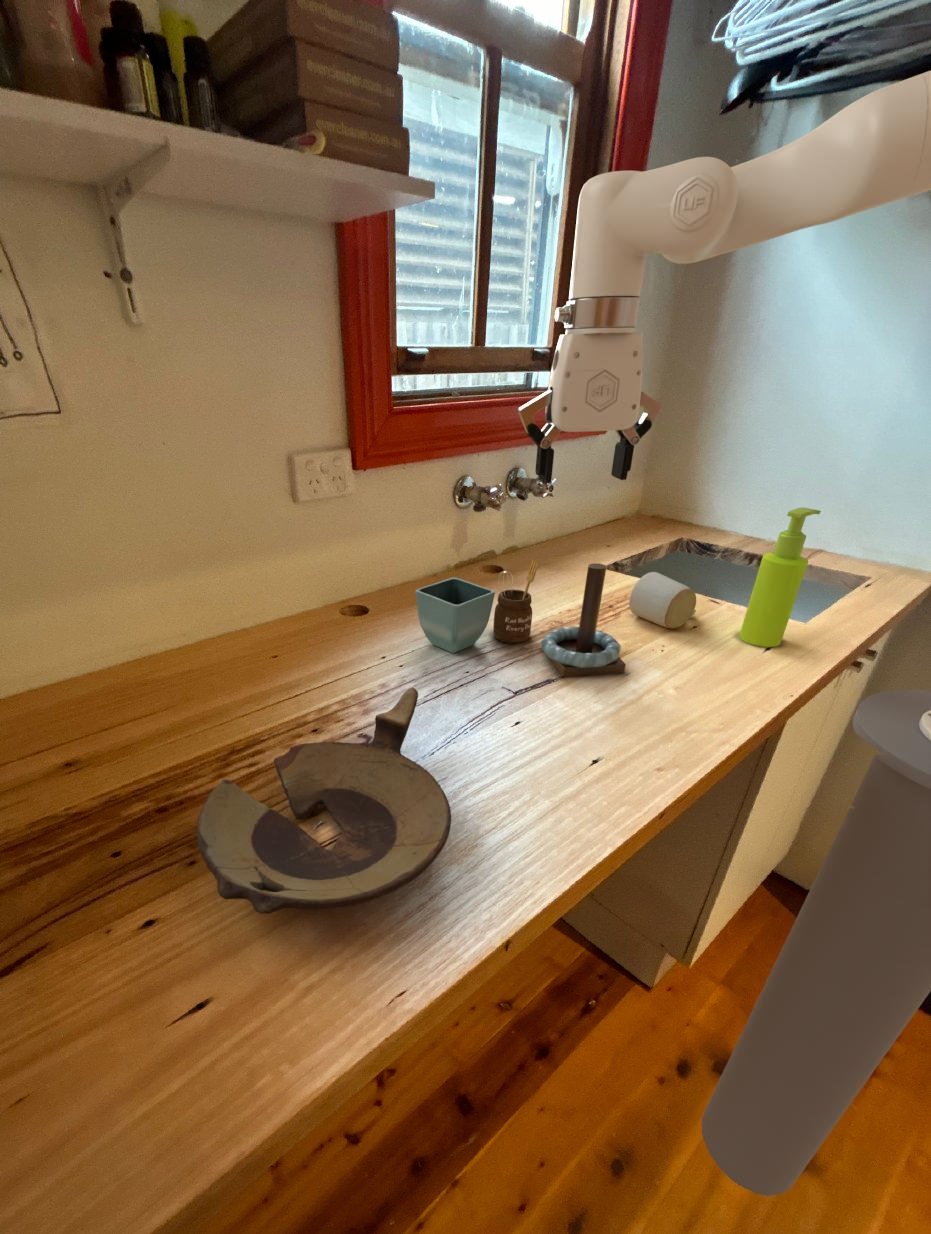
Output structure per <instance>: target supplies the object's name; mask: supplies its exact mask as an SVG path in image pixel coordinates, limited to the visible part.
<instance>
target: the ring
mask: <svg viewBox="0 0 931 1234" xmlns="http://www.w3.org/2000/svg"><path fill="white" fill-rule="evenodd" d="M578 630H579V626H566V627H564V626H563V627H559V628H556V629H554V630H551V631H548V632H547V633H546V634H545V635H544V637H543V639H542V640H541V643H540V647H541V649H542V650H543V652H544V653H545V654H546V656H547V657H548V658H549V659H550V658H551V659H553V660H556V661H558V662H560V663H562V664H564V665H570V666H576V667H581V668H589V667H602V666H605V665H607V664H609V663H612V662H614V661H616V660H617V659H618V657H620V654H621V644H620V643H619V641H617V640H616V639H615V638H614V636H612V634H609V633H606V632H604V631H601V630H599V629H596V633H595V639H594V643H595V644H597V645H599V646H602V647H603V648H604V649H605V650H604V651H601V652H599V653H579V652H573V651H568V650H566V649H564V648H561V647H559V646H558V645H557V644H556V643H559V642H561V641H566V640H577V637H578ZM551 659H550V660H551Z"/></svg>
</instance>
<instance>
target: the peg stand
mask: <svg viewBox="0 0 931 1234" xmlns="http://www.w3.org/2000/svg"><path fill="white" fill-rule="evenodd" d="M586 571H587V572H586V578H585V586H584V591H583V599H582V604H581V605H582V606H581V610H580V611H581V612H580V618H579V625H578V627H579V630H578V637H577V640H566V641H561V642H559V643H556V644H557V645H558V646H559V647H561V648H564V649H566V650H568V651H573V652H579V653H599V652H601V651H604V650H605V649H604V648H603V647H602V646H599V645H597V644H595V643H594V639H595V633H596V630H597V628H598V627H597V626H598V620H599V615H600V608H601V602H602V598H603V590H604V585H605V579H606V572H607V566H606V565H605V564H603V563H595V562H594V563H589V564H588V565H587V570H586ZM549 659H550V661H551V662H552V663H553V665H554V666H555V668H556V669H557V671H558V672H559V674H560V675H561V676H562V677H563V678H568V677H569V678H570V677H571V678H572V677H583V676H584V677H586V676H601V675H619V674H625V669H626V662H624V661H623V660H622V658H621V657H620V656H619V657H618V659H617V660H616V661H614V662H612V663H609V664H607V665H605V666H602V667H589V668H581V667H576V666H570V665H564V664H562V663H560V662H558V661H556V660H553V659H551V658H549Z"/></svg>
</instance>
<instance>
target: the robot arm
mask: <svg viewBox="0 0 931 1234" xmlns="http://www.w3.org/2000/svg"><path fill="white" fill-rule="evenodd" d="M929 191H931V70H928V71H925V72H923V73H920V74H917V75H913V76H912V77H909V78H906V79H904V80H901V81H898V82H895V83H892V84H889V85H886V86H884V87H880V88H879V89H876V90H874V91H872V92H870V93H868V94H866V95H864V96H862V97H860V98H859V99H857V100H855V101H853V102H852V103H850V104H848V105H847V106H845V107H843V108H842V109H841V110H839V111H838V112H836V113H835V114H833V115H832V116H831V117H829V119H826V121H824V122H823V123H821V124H820V125H818V126H817V127H815V128H814V129H812V130H810V131H809V132H807V133H805V134H804V135H802V136H801V137H799V138H796V139H794V140H793V141H791V142H788V143H787V144H785V145H783V146H781V147H779V148H777V149H775V150H772V151H769V152H768V153H765V154H763V155H760V156H758V157H755V158H752V159H750V160H748V161H745V162H742V163H739V164H736V165H733V166H730V165H728V164H727V162H725V161H723V160H722V159H720V158H718V157H713V156H697V157H693V158H688V159H685V160H681V161H679V162H675V163H671V164H668V165H665V166H660V167H657V168H656V167H655V168H653V169H648V170H645V171H642V170H615V171H609V172H604V173H600V174H597V175H595V176H593V177H591V178H589V179H588V180H587V181H586V182H585V183H584V184H583V186H582V188H581V190H580V193H579V197H578V203H577V213H576V224H575V231H574V232H575V234H574V243H573V252H572V253H573V254H572V266H571V276H570V284H569V294H568V300H567V301H566V304H565V305H564V306H562V307H556V309H555V311H554V321H555V322H556V323H557V322H558V323H560V322H561V323H562V324H563V329H565V332H564V333H565V334H560V335H559V338H558V341H557V345H556V348H555V352H554V356H553V361H552V364H551V370H550V374H549V381H548V385H547V386H548V387H547V391H545V392H543V393H542V394H540V395H538V396H537V397H535V398H533V399H531V400H530V401H528V402H527V403H525V404H523V405H522V406H520V407H518V410H517V413H518V417H519V418H520V422H521V424H522V426H523V428H524V432H525V434H526V435H527V436H528V437H529V438H530V439H531V441H533V443H534V445H535V446H536V459H535V469H534V470H535V476H537V478H538V480H539V481H540V482H542V483H543V484H550V483H551V482H552V478H553V469H554V468H553V467H554V457H555V449H554V448H552V444H553V443H554V442H555V441H556V439H557V438H558V437H559V436H560V434H562V432H567V433H578V432H581V433H582V432H583V433H584V432H606V431H607V432H608V431H615V433H616V434H617V436H618V438H619V441H617V442H616V444H615V446H614V452H613V453H614V454H613V459H612V467H611V476H612V477H614V478H616V479H618V480H619V481H620V480H621V481H626V480H627V478H628V474H629V472H630V471H631V469H632V462H633V457H634V451H635V446H637V445H639V443H640V441H641V439H642V437H644V436H645V434H647V433H648V432H649V431H650V430H651V429H652V427H653V423H654V422H655V420H656V419H657V417H658V416H659V414H660V412H661V411H662V409H663V404H662V403H661V402H659V401H658V400H656V399H655V398H653V397H652V396H650V395H649V394H647V393H645V392H643V390H642V386H643V385H642V384H643V372H644V371H643V369H644V368H643V367H644V344H643V343H644V342H643V339H644V338H643V332H636V327H637V326H636V325H637V321H638V320H637V319H638V312H639V305H640V299H641V298H640V297H641V293H642V285H643V280H644V279H643V278H644V272H645V266H646V259H647V255H648V254H660V255H662V257H664V258H665V259H666V260H668V261H669V262H671V263H674V264H679V265H688V264H693V263H697V262H701V261H705V260H708V259H711V258H715V257H717V256H721V255H725V254H728V253H731V252H734V251H738V250H740V249H744V248H747V247H751V246H754V245H757V244H760V243H763V242H764V243H765V242H767V241H770V240H772V239H776V238H779V237H782V236H785V235H789V234H791V233H794V232H798V231H801V230H804V229H807V228H808V229H809V228H811V227H816V226H820V225H824V224H829V223H832V222H836V221H839V220H842V219H845V218H848V217H851V216H854V215H856V214H859V213H863V212H866V211H869V210H872V209H876V208H878V207H882V206H885V205H888V204H892V203H894V202H898V201H901V200H904V199H906V198H910V197H913V196H916V195H919V194H923V193H926V192H929ZM640 407H641V408H642V409H643V413H642V415H641V417H640V418H639V412H640ZM544 408H545V411H544V421H545V425H544V426H543V427H542V429H541V428H539V426H538V425H537V423H536V420H535V414H536V413H538V412H540V411H541V410H543V409H544ZM638 418H639V419H638ZM919 727H920V730H921V731H922V733H923V734H924V735H925V736H926V737H927V738H928V739H929V740H930V741H931V710H930V711H927V712H926V713H924V714H923V716H922V718H921V719H920V722H919Z"/></svg>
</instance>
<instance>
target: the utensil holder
mask: <svg viewBox="0 0 931 1234" xmlns="http://www.w3.org/2000/svg"><path fill="white" fill-rule="evenodd" d="M539 563H540V562H539V561H537V560H535V559H532V560H531V563H530V567H529V570H528V572H527V574H526V581H527V583H526V586H525V590H522V589H514V577H513V575H512V574H510V571H507V570H505V571H504V570H503V571H501V572H500V574H499V575H498V576H497V578H498V579H500V578H501V579H502V583H505V581H504V580H505V579H504V577H505V575H502V574H506V575H508V573H509V574H510V576H511V584H512V586H511V588H512V589H505V588H502V591H501V586H502V587H504V584H501V586H500V581H497V583H498V589H499V593H498V596H497V604H496V605H495V608H494V613H493V625H492V626H493V628H492V629H493V630H492V631H493V636H494V638H495V639H497V640H498V641H500V642H504V643H509V644H517V643H523V642H525V641H527V640H529V638H530V635H531V630H532V621H533V607H532V605H531V604H532V594H531V593H529V592H528V590H529V588H530V585H531V583H533V582H534V580H535V577H536V573H537V570H538V567H539ZM506 577H507V578H506V581H508V585H511V584H510V580H509V579H510V577H509V576H506Z"/></svg>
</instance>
